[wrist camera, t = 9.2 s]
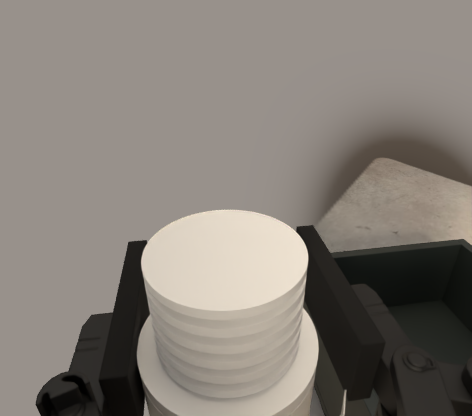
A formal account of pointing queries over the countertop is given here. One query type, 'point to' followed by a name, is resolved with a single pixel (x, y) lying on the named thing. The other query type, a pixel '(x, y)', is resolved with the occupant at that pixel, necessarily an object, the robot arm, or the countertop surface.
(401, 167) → the countertop surface
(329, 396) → the dark grey open box
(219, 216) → the downlight
